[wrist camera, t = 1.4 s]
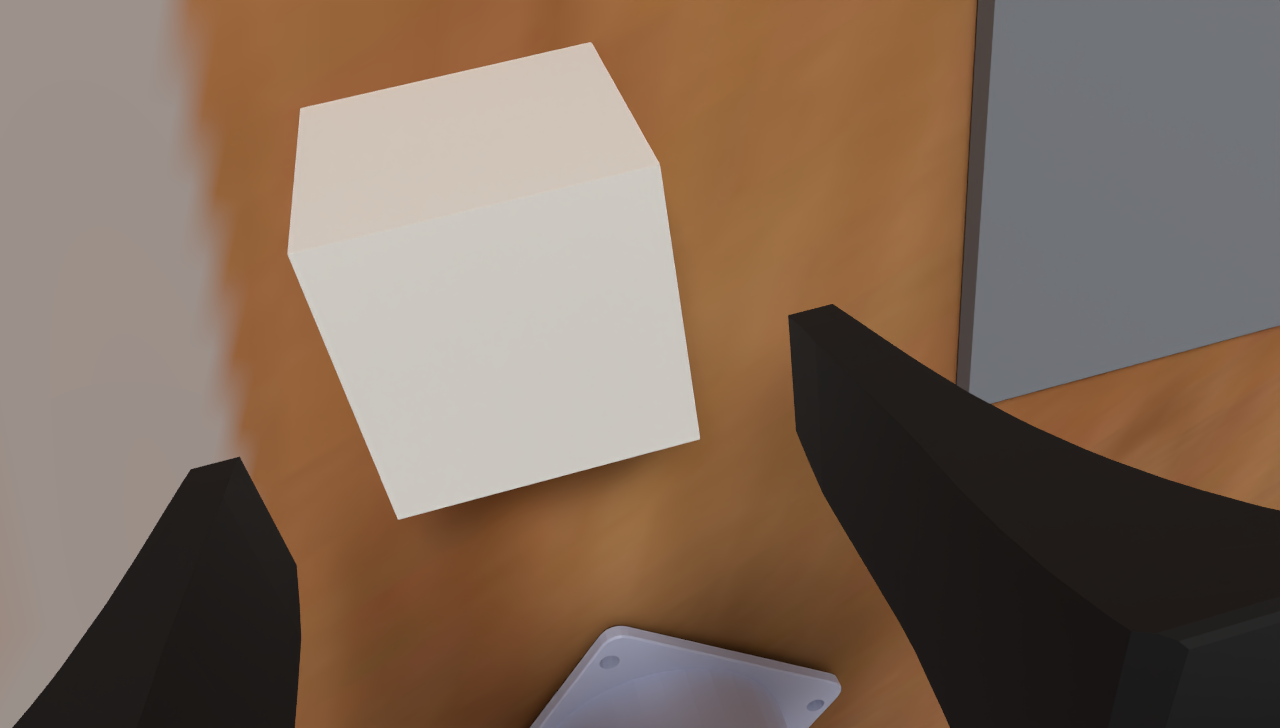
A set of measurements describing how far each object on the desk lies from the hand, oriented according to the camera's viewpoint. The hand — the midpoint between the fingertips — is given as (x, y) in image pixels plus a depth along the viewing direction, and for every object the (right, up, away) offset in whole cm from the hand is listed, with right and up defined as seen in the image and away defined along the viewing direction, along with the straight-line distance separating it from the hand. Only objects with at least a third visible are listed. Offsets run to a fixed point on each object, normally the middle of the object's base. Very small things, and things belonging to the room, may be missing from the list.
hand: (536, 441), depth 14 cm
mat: (+13, +6, +8) cm, 17 cm away
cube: (-2, +4, +6) cm, 7 cm away
